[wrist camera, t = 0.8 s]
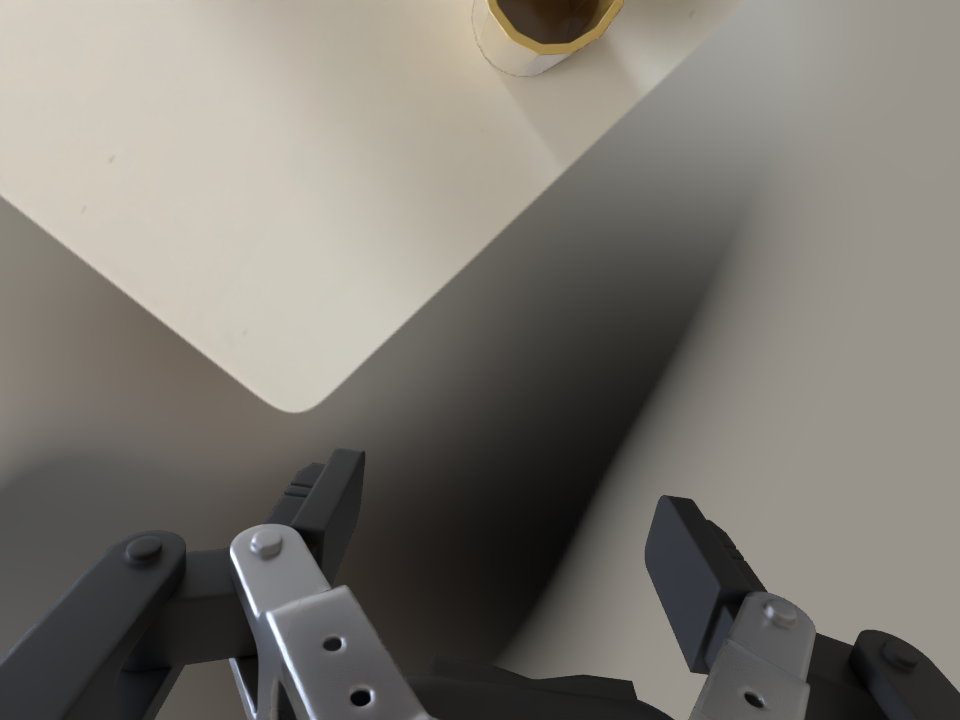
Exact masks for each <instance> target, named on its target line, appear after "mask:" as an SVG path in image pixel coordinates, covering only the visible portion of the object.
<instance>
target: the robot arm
mask: <svg viewBox="0 0 960 720" xmlns="http://www.w3.org/2000/svg"><path fill="white" fill-rule="evenodd" d="M364 466H365V452H364V451H359V450H353V449H346V448H339V447H337V448H336V449H335V451H334V453H333V454H332V456H331V457H330V459H329V461H328V462H327V464H326V465H325V464H319V463H312V464H310V465H308V466H307V467H305V468H303V469H302V470H300V471H299V472H298V473H297V474H296V476H295V477H294V479H293V480H292V482H291V484H290V485H289V486H288V487H287V489H286V491H285V492H284V495H282V496H281V498H280V499H279V501H278V502H277V504H276V505H275V506H274V508H273V509H272V511H271V512H270V514H269V515H268V517H267V518H266V520H265V521H264V523H263V524H262V525H258V526H255V527H252V528H249V529H247V530H245V531H243V532H241V533H240V534H239V535H237V536H236V538H234V540H233V541H232V543H231V546H230V547H228V548H224V549H218V550H208V551H207V550H206V551H194V552H186V544H185V541H184V539H183V538H181V537H180V536H179V535H177V534H175V533H172V532H167V531H146V532H141V533H137V534H133V535H130V536H128V537H125V538H123V539H121V540H119V541H117V542H116V543H114V544H113V545H111V546H110V547H109V548H108V549H107V550H106V551H105V552H104V553H103V554H102V555H101V556H100V557H99V558H98V559H97V560H96V561H95V562H94V563H93V565H92V566H91V567H90V568H89V569H88V570H87V571H86V572H85V573H84V574H83V575H82V576H81V577H80V578H79V579H78V580H77V581H76V582H75V583H74V584H73V586H71V587H70V588H69V590H67V592H66V593H65V594H64V595H63V596H62V597H61V598H60V599H59V600H58V601H57V602H56V603H55V604H54V605H53V606H52V607H51V608H50V609H49V610H48V611H47V612H46V613H45V614H44V616H42V618H41V619H40V620H39V621H38V622H37V623H36V624H35V625H34V626H33V627H32V628H31V629H30V630H29V631H28V632H27V633H26V634H25V635H24V636H23V637H22V638H21V639H20V640H19V641H18V642H17V643H16V645H15V646H14V647H13V648H12V649H11V650H10V651H9V652H8V653H7V654H6V655H5V656H4V657H3V658H2V659H1V660H0V720H154V719H155V717H156V715H157V714H158V712H159V710H160V708H161V707H162V705H163V703H164V701H165V700H166V698H167V696H168V694H169V692H170V691H171V689H172V687H173V685H174V684H175V682H176V680H177V678H178V676H179V675H180V673H181V671H182V669H183V667H184V666H185V665H188V664H195V663H201V662H208V661H215V660H222V659H229V662H230V665H231V668H232V671H233V674H234V678H235V681H236V684H237V687H238V690H239V693H240V697H241V700H242V703H243V706H244V709H245V712H246V715H247V719H248V720H674V719H673V718H671V717H670V716H668V715H667V714H665V713H663V712H662V711H660V710H659V709H657V708H655V707H653V706H651V705H649V704H647V703H645V702H642V701H640V700H637V696H636V693H635V690H634V686H633V683H632V681H627V680H620V679H613V678H605V677H598V676H590V675H575V676H566V677H557V678H547V679H530V678H527V677H524V676H521V675H519V674H516V673H513V672H510V671H507V670H505V669H502V668H499V667H496V666H494V665H491V664H488V663H485V662H483V661H477V660H469V659H462V658H454V657H446V656H439V655H432V657H431V664H430V670H429V672H422V673H417V674H413V675H409V676H405V677H404V675H403V674H402V672H401V670H400V669H399V667H398V665H397V664H396V662H395V661H394V659H393V657H392V656H391V654H390V653H389V651H388V649H387V648H386V646H385V645H384V643H383V641H382V640H381V638H380V637H379V635H378V634H377V632H376V630H375V629H374V627H373V625H372V624H371V622H370V621H369V619H368V618H367V616H366V614H365V613H364V611H363V609H362V608H361V606H360V605H359V603H358V601H357V600H356V598H355V597H354V595H353V593H352V592H351V591H350V589H349V588H348V587H347V586H345V585H340V586H337V587H335V588H331V587H332V584H333V582H334V579H335V577H336V574H337V572H338V569H339V567H340V564H341V562H342V559H343V557H344V554H345V552H346V549H347V547H348V544H349V542H350V539H351V537H352V534H353V532H354V529H355V527H356V524H357V520H358V516H359V511H360V505H361V496H362V486H363V476H364ZM645 564H646V568H647V570H648V572H649V575H650V577H651V579H652V582H653V584H654V587H655V589H656V592H657V594H658V596H659V598H660V601H661V603H662V606H663V608H664V610H665V613H666V615H667V617H668V620H669V622H670V625H671V627H672V629H673V631H674V634H675V636H676V639H677V641H678V643H679V646H680V648H681V650H682V653H683V655H684V658H685V660H686V662H687V665H688V667H689V669H690V672H693V673H700V674H707V675H708V677H707V679H706V681H705V684H704V686H703V688H702V690H701V692H700V695H699V697H698V699H697V701H696V704H695V706H694V708H693V710H692V712H691V715H690V717H689V719H688V720H960V693H959V692H958V691H957V689H956V688H955V687H954V686H953V685H952V684H951V683H950V681H949V680H948V679H947V678H946V677H945V676H944V675H943V674H942V673H941V671H940V670H939V669H938V668H937V667H936V666H935V665H934V664H933V662H932V661H931V660H930V659H929V658H928V657H926V656H925V655H924V654H923V653H922V652H920V651H919V650H918V649H916V648H915V647H913V646H912V645H910V644H909V643H907V642H905V641H904V640H902V639H900V638H898V637H895V636H893V635H891V634H888V633H885V632H882V631H877V630H864V631H862V632H860V634H859V635H858V638H857V640H856V642H855V644H854V646H852V645H850V644H847V643H844V642H841V641H838V640H835V639H832V638H830V637H827V636H824V635H821V634H819V633H816V629H815V626H814V624H813V622H812V621H811V619H810V618H809V617H808V616H807V614H806V613H804V612H803V611H802V610H801V609H800V608H798V607H797V606H796V605H794V604H793V603H791V602H790V601H788V600H786V599H784V598H782V597H780V596H777V595H774V594H771V593H768V592H767V590H766V589H765V587H764V586H763V585H762V583H761V582H760V581H759V579H758V578H757V576H756V575H755V573H754V572H753V570H752V569H751V568H750V566H749V565H748V563H747V562H746V561H744V558H743V556H742V555H741V553H740V552H739V550H736V546H735V545H734V543H733V542H732V541H731V539H730V538H729V536H728V535H727V533H726V532H724V531H723V530H722V529H721V528H719V527H718V526H717V525H716V524H714V523H713V522H712V521H710V520H706V519H705V517H704V516H703V514H702V513H701V511H700V510H699V509H698V507H697V505H696V504H695V502H694V501H693V500H692V499H688V498H681V497H673V496H666V495H663V496H661V497H660V499H659V501H658V504H657V507H656V511H655V514H654V518H653V521H652V524H651V528H650V531H649V535H648V538H647V542H646V546H645Z"/></svg>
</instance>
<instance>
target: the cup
mask: <svg viewBox="0 0 960 720" xmlns="http://www.w3.org/2000/svg"><path fill="white" fill-rule="evenodd" d="M623 4H624V0H474V6H473V13H472V23H473V29H474V34H475V38H476V41H477V44H478V46H479V48H480V50H481V51H482V53H483V54H484V56H485V57H486V59H487V60H488V61H489V62H490V63H491V64H492V65H493V66H494V67H496V68H497V69H499V70H500V71H502V72H504V73H506V74H509V75H512V76H519V77H526V76H534V75H539V74H540V73H542V72H544V71H545V70H547V69H549V68H550V67H552V66H554V65H555V64H557V63H559V62H560V61H562V60H564V59H565V58H567V57H569V56H570V55H572V54H573V53H575V52H577V51H578V50H580V49H582V48H583V47H585V46H587V45H588V44H590V43H591V42H593V41H595V40H596V39H598V38H600V37H601V36H602V35H603V33H604V32H605V30H606V29H607V28H608V26H609V25H610V23H611V22H612V21H613V19H614V18H615V16H616V15H617V13H618V12H619V11H620V9H621V8H622V5H623Z"/></svg>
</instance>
